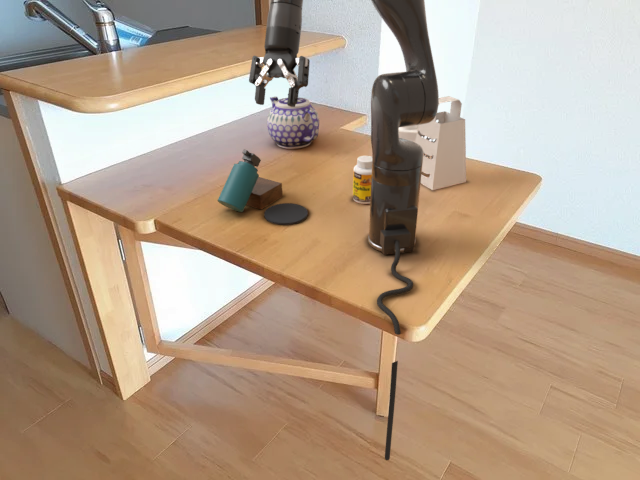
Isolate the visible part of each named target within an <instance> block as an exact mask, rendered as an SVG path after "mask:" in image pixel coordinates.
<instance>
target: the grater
mask: <svg viewBox="0 0 640 480" xmlns="http://www.w3.org/2000/svg"><path fill="white" fill-rule="evenodd" d="M448 102H450V110H449V112H448V111H439V112H437V114H436V116H435V118H434V119H433V120H432V121H431V122H430V123H427V124H421V125H419V126H418V130H417V134H416V139H415V143H417V144H418V145H420V146H421V147H422V149H423V163H422V173H424V174H426V175H429V176H425V175H424V174H421V183H420V185H423V186H424V187H426V188H428V189H429V190H431V191H435V190H440V189H444V188H448V187H451V186H455V185H459V184H463V183H466V182H467V150H466V149H467V148H466V147H467V146H466V145H467V144H466V119H465V118H464V117H461V112H462V105H463V103H462V102H461V100H460V99H459V98H455V97H452V96H449V95H448V96H442V97H439V105H438V107H439V106H440V104H443V103H448ZM437 121H438V122H437ZM425 137H426V138H425ZM430 157H431V158H430Z"/></svg>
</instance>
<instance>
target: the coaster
mask: <svg viewBox="0 0 640 480" xmlns="http://www.w3.org/2000/svg"><path fill="white" fill-rule="evenodd" d="M263 214H264V218H265V220H266V221H267V222H268V223H271V224H275V225H279V226H289V225H290V226H291V225H295V224H299V223H301V222H303V221H304V220H306V219H307V218H308V214H309V212H308V209H307V208H306V207H305V206H303V205H301V204H298V203H290V202H284V203H276V204H273V205H271V206H269V207H267V208H266V209H265V210H264V213H263Z"/></svg>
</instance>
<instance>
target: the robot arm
mask: <svg viewBox="0 0 640 480" xmlns="http://www.w3.org/2000/svg"><path fill="white" fill-rule="evenodd" d="M370 1H371V3H372V5H373V7H374V9H375V10H376V12H377V14H378V15H379V16H380V18H381V19H382V21H383V22H384V23H385V25H386V26H387V27H388V28H389V30H390V31H391V33H392V34H393V36H394V37H395V39H396V41H397V43H398V45H399V47H400V49H401V53H402V57H403V60H404V66H405V70H406V71H397V72H388V73H382V74H379V75H378V76H376V78H375V80H374V82H373V83H372V87H371V92H370V93H371V94H370V144H371V152H372V155H371V156H372V177H371V199H370V204H369V222H368V223H369V225H368V226H369V227H368V237H367V243H368V244H369V246H370V247H371V248H373V249H374V250H376V251H379V252H380V253H382V254H383V255H384V256H386V255H394V259H393V261H392V263H391V265H390V271H391V274H392V276H393V277H394V278H395V279H397V280H399V281H401V282H403V283H405V284H407V285H406V286H404V287H400V288H396V289H391V290H387V291H384V292H381V293H380V294H379V295H378V297H377V299H376V305H377V307H378V308H379V309H380V310H381V312H383V313H385V314H386V315H387V316H388V317H389V319H390V320H391V323H392V325H393V328H394V333H395V334H394V335H396V336H400V335H401V327H400V322H399V320H398V318H397V316H396V315H395V313H394V312H393V311H392V310H391V309H390V308H389V307H387V306H386V305H385V304H384V303H383V301H384V299H386V298H387V297H391V296H396V295H402V294H405V293H408V292H410V291H411V290H412V289H413V287H414V282H413V280H412V279H411V278H408V277H407V276H404V275H401V274H400V273H398V272H397V267H398V264H399V262H400V259H401V254H403V253H412V252H413V253H414V252H415V246H416V242H417V241H416V240H417V237H416V234H417V224H418V214H419V213H418V212H419V203H420V194H421V174H422V173H423V172H422V163H423V156H424V153H423V149H422V147H421V146H420V145H418V144H417V143H415V142H413V141H410V140H406V139H402V138H399V127H406V126H414V125H421V124H427V123H430V122H431V121H432V120H433V119H434V118H435V116H436V114H437V113H438V111H439V106H440V104H439V98H440V97H439V96H440V94H439V86H438V78H437V72H436V67H435V62H434V57H433V52H432V51H433V50H432V47H431V42H430V36H429V29H428V28H429V27H428V21H427V12H426V3H425V0H370ZM303 7H304V0H270V3H269V8H268V13H267V19H266V20H267V21H266V30H265V38H264V52H265V53H264V56H263V57H260V56H257V55H253V56H252V57H251V65H250V70H249V77H248V82H249V83H250V84H252V85H254V86H255V92H254V102H255V103H256V104H257V105H260V106H264V105H265V99H266V89H267V88H266V86H268V84H269V83H270V82H272V81H273V79H274V78H275V79H280V78H282V79H285V80H287V82H288V84H289V86H290V87H288V93H287V98H288V102H287V105H288V106H291V107H295V105H296V104H297V102H298V98H299V94H300V93H299V92H300V89H301V88H304V87H305V88H307V87H308V86H309V77H310V76H309V75H310V59H309V58H308V57H306V56H304V55H300V56H298V54H299V51H300V42H301V36H302V35H301V33H302V26H303V24H302V23H303ZM296 67H297V68H298V69H297V73H296V71H295V69H296ZM438 105H439V106H438ZM422 175H423V174H422ZM398 364H399V361H398V360H395V361H393V362H392V363H391V369H390V370H391V371H390V372H391V373H390V384H389V386H390V387H389V389H390V390H389V398H388V399H389V400H388V412H387V423H386V425H387V427H386V437H385V449H384V460H385V461H389V460H390V459H391V447H392V439H393V438H392V436H393V427H394V426H393V425H394V416H395V415H394V414H395V402H396V391H397V377H398Z"/></svg>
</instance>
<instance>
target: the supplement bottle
mask: <svg viewBox="0 0 640 480" xmlns="http://www.w3.org/2000/svg"><path fill="white" fill-rule="evenodd" d="M356 160H357V161H356V164H355V165H354V166H353V173H352V199H353V201H354V202H355V203H357V204H362V205H370V199H371V177H372V155H360V156H358V157H357V159H356Z"/></svg>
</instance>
